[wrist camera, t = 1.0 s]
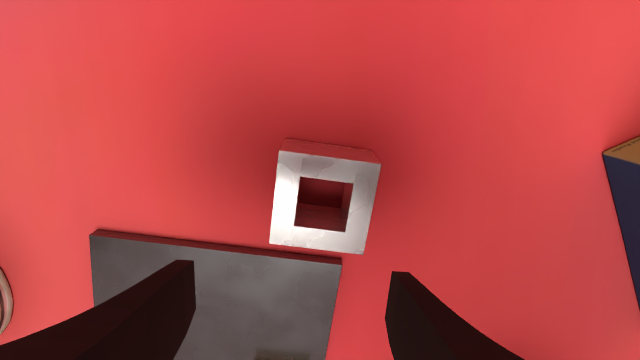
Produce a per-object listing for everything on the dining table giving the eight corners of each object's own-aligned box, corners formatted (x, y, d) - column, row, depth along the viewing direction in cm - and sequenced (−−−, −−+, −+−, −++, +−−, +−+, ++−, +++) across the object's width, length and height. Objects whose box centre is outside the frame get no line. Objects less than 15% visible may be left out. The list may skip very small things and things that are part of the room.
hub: (370, 149, 20) (381, 164, 17) (356, 227, 22) (363, 254, 18) (285, 138, 20) (279, 150, 17) (276, 217, 22) (269, 243, 18)
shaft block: (341, 258, 22) (345, 290, 19) (316, 394, 26) (316, 441, 23) (97, 229, 22) (57, 257, 18) (105, 373, 25) (73, 419, 22)
